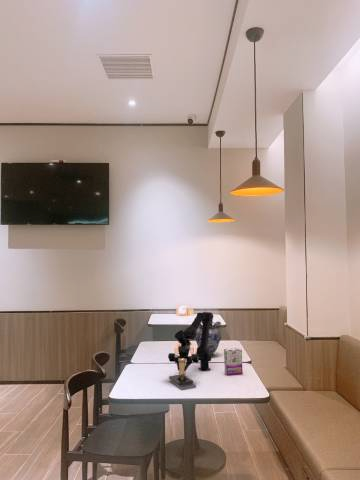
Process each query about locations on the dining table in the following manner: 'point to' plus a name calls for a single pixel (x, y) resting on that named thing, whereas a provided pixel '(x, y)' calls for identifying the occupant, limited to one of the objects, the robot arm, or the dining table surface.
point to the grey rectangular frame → (182, 382)
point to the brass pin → (182, 369)
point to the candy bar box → (233, 361)
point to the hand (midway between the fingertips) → (181, 370)
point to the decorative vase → (210, 337)
